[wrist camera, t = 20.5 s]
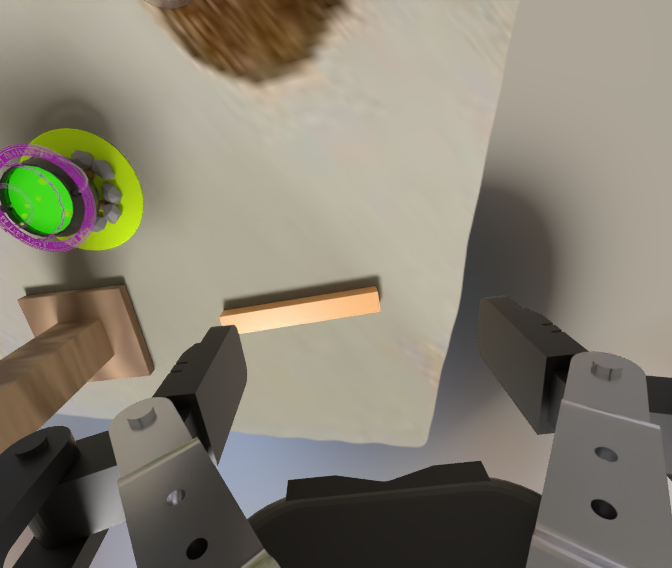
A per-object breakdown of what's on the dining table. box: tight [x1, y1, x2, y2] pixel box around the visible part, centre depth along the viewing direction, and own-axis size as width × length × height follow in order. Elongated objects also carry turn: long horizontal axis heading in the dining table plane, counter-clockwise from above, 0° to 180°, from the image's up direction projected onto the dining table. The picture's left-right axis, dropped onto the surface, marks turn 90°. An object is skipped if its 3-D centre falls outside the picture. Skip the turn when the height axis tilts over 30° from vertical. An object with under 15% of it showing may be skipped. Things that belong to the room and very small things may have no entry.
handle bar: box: [219, 286, 380, 334], centre depth 50 cm, size 22×3×2 cm, turn 99°
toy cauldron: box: [0, 128, 144, 252], centre depth 40 cm, size 15×15×11 cm
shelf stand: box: [0, 284, 155, 454], centre depth 37 cm, size 16×14×32 cm
